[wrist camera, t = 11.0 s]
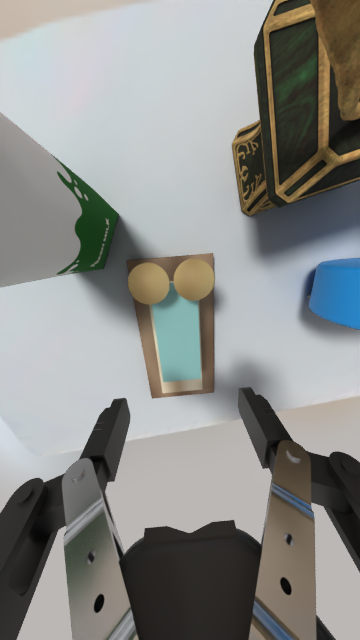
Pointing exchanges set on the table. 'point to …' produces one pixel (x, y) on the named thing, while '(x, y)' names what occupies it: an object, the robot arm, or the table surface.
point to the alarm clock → (337, 292)
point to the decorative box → (302, 105)
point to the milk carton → (46, 214)
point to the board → (204, 325)
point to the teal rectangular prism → (178, 336)
